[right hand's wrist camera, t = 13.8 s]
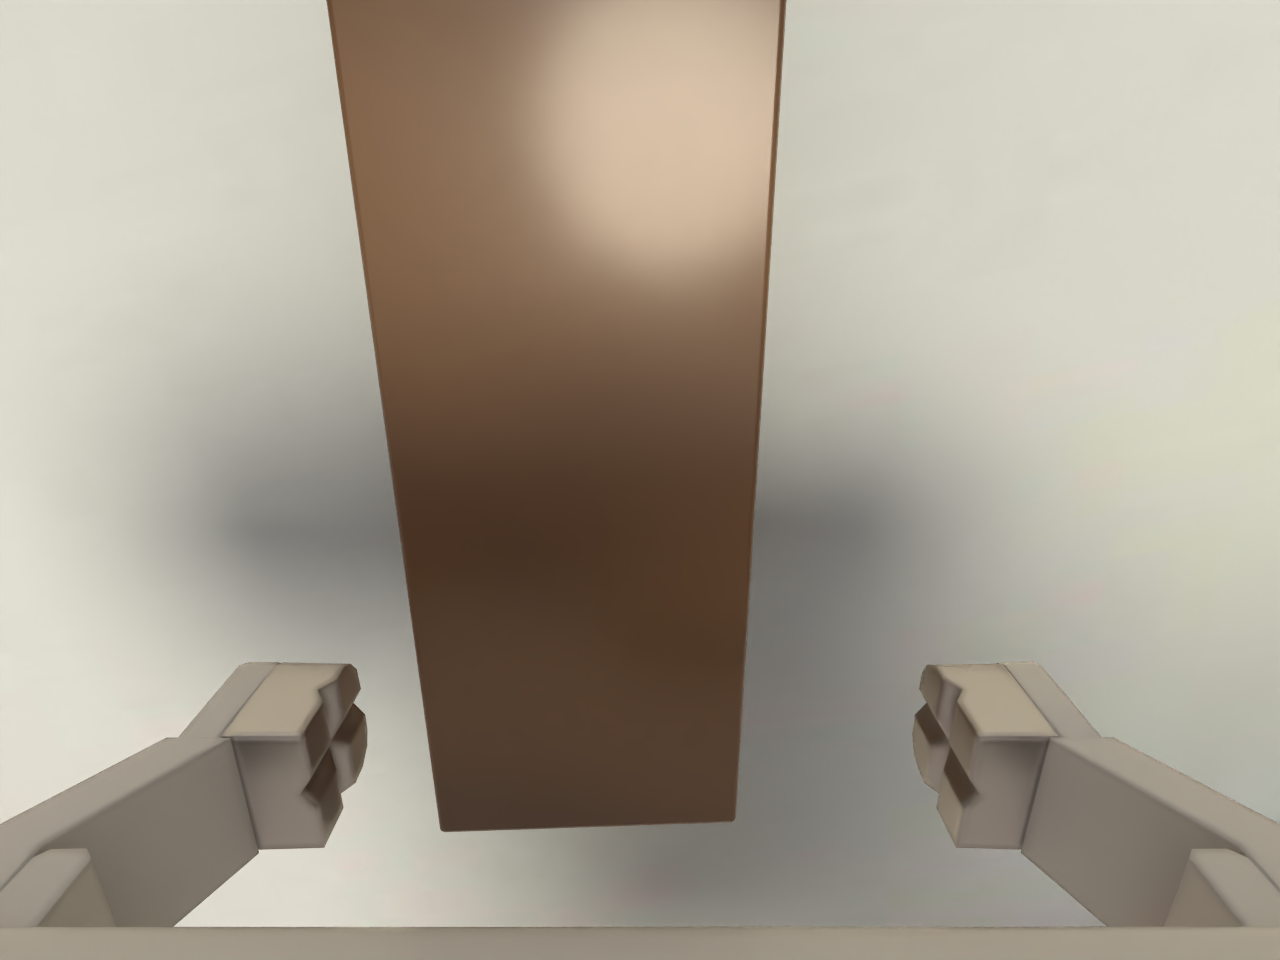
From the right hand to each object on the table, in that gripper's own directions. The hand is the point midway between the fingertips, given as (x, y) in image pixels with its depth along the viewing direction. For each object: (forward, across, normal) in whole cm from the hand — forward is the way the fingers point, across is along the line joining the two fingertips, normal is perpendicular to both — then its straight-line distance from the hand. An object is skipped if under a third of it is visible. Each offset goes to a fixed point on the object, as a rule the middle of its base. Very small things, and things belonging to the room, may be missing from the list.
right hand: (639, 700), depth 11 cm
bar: (+9, +1, -9) cm, 13 cm away
